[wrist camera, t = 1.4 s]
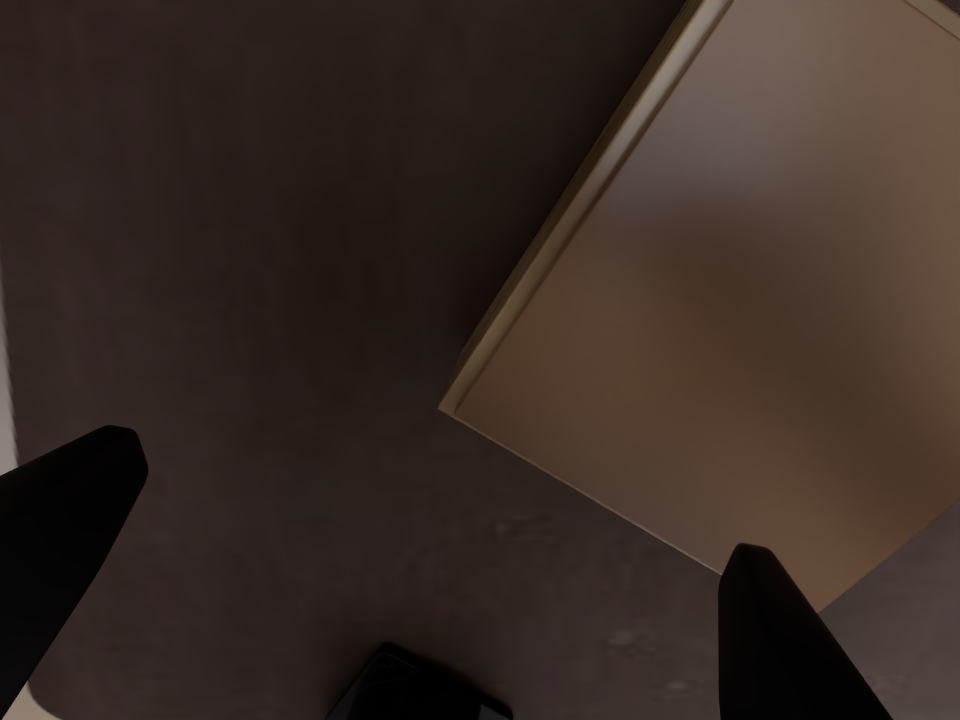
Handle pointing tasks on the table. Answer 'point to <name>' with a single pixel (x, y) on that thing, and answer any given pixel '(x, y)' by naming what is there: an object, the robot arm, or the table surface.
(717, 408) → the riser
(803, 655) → the robot arm
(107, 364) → the table surface
